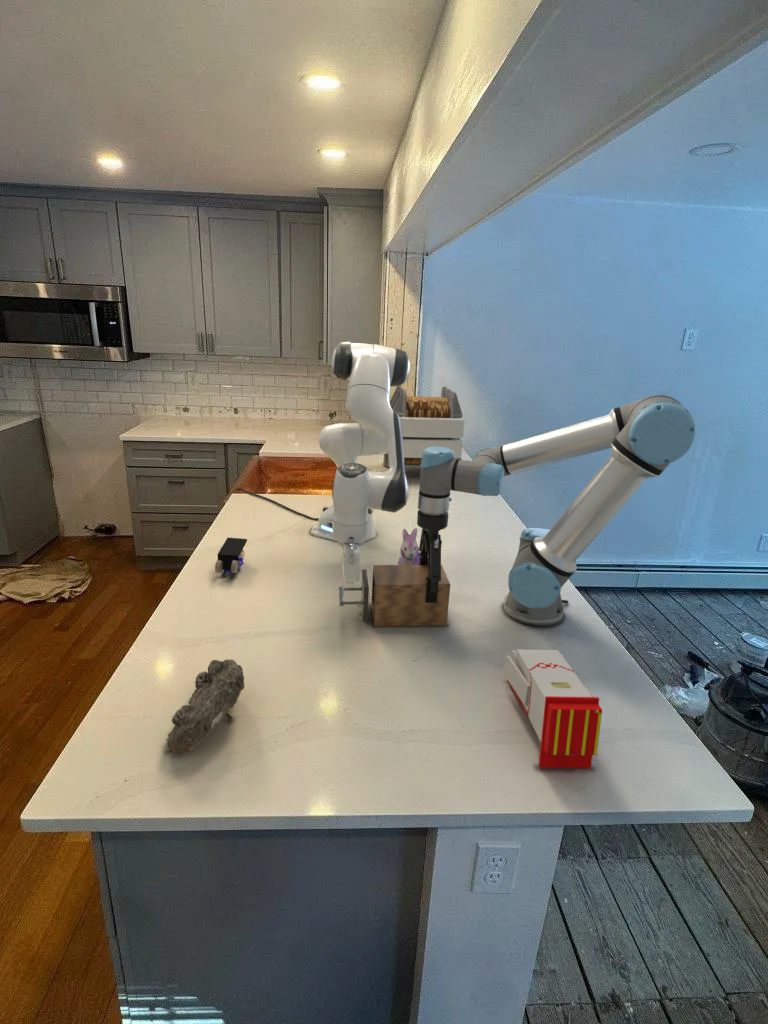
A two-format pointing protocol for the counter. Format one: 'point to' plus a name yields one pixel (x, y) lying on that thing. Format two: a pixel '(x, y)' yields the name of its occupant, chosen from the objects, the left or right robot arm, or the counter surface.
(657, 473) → the right robot arm
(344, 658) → the counter surface
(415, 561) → the figurine
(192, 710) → the fossil
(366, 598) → the drawer
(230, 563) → the figurine character
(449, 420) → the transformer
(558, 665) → the toy
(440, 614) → the cabinet
